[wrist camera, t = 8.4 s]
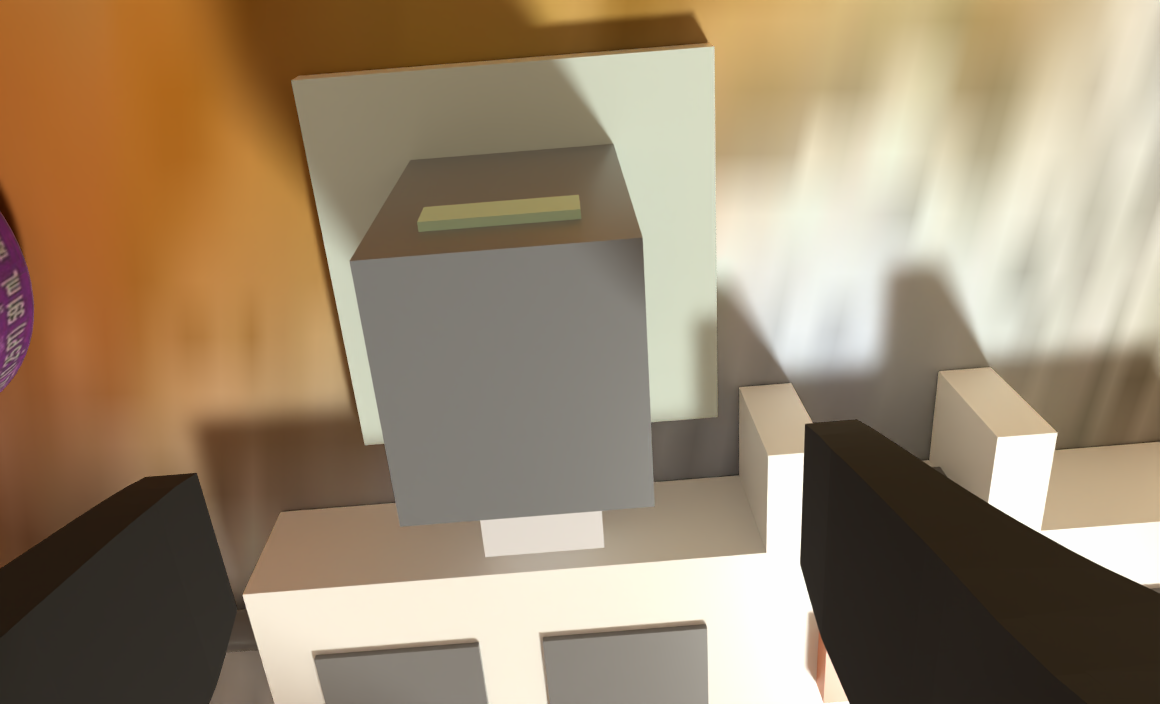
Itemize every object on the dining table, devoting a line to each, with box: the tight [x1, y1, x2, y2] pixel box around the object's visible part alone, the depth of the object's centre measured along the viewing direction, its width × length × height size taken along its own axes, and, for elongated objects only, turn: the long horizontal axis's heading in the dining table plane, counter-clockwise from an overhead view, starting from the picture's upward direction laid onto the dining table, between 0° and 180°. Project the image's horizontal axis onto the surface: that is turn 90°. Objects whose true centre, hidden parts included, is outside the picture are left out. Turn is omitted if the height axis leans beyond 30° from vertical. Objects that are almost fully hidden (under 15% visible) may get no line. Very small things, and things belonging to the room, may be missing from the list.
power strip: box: [226, 367, 1160, 704], centre depth 21 cm, size 8×28×4 cm, turn 94°
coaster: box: [291, 43, 718, 445], centre depth 19 cm, size 8×8×1 cm
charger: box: [349, 144, 655, 557], centre depth 17 cm, size 8×4×6 cm, turn 4°
